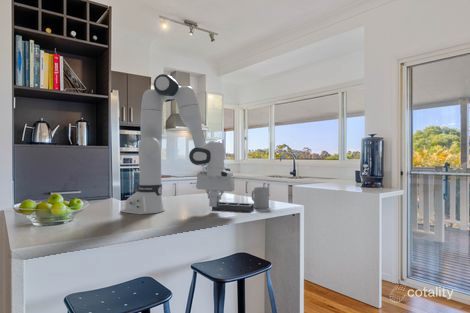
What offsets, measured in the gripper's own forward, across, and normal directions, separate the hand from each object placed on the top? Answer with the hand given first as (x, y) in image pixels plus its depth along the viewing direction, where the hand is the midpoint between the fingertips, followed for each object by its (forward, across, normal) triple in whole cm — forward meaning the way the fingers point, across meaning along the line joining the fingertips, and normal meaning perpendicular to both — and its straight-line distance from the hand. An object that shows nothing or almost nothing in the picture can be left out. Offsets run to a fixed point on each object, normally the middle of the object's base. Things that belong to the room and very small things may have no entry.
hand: (214, 199), depth 154 cm
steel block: (+4, 0, 0) cm, 4 cm away
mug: (+6, +19, +23) cm, 30 cm away
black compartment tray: (+6, +7, +11) cm, 14 cm away
